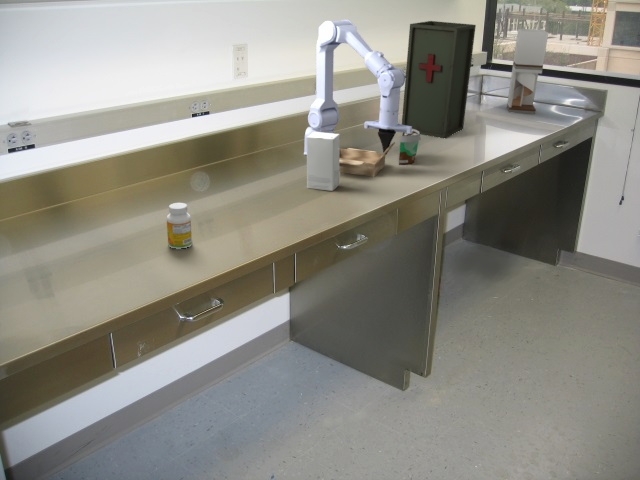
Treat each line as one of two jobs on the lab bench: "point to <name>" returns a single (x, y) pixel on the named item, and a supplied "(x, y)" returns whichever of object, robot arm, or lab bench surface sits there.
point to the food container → (408, 147)
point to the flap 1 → (351, 162)
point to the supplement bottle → (179, 226)
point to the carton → (368, 157)
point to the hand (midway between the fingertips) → (385, 153)
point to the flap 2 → (386, 151)
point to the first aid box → (437, 77)
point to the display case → (526, 69)
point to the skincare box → (323, 160)
